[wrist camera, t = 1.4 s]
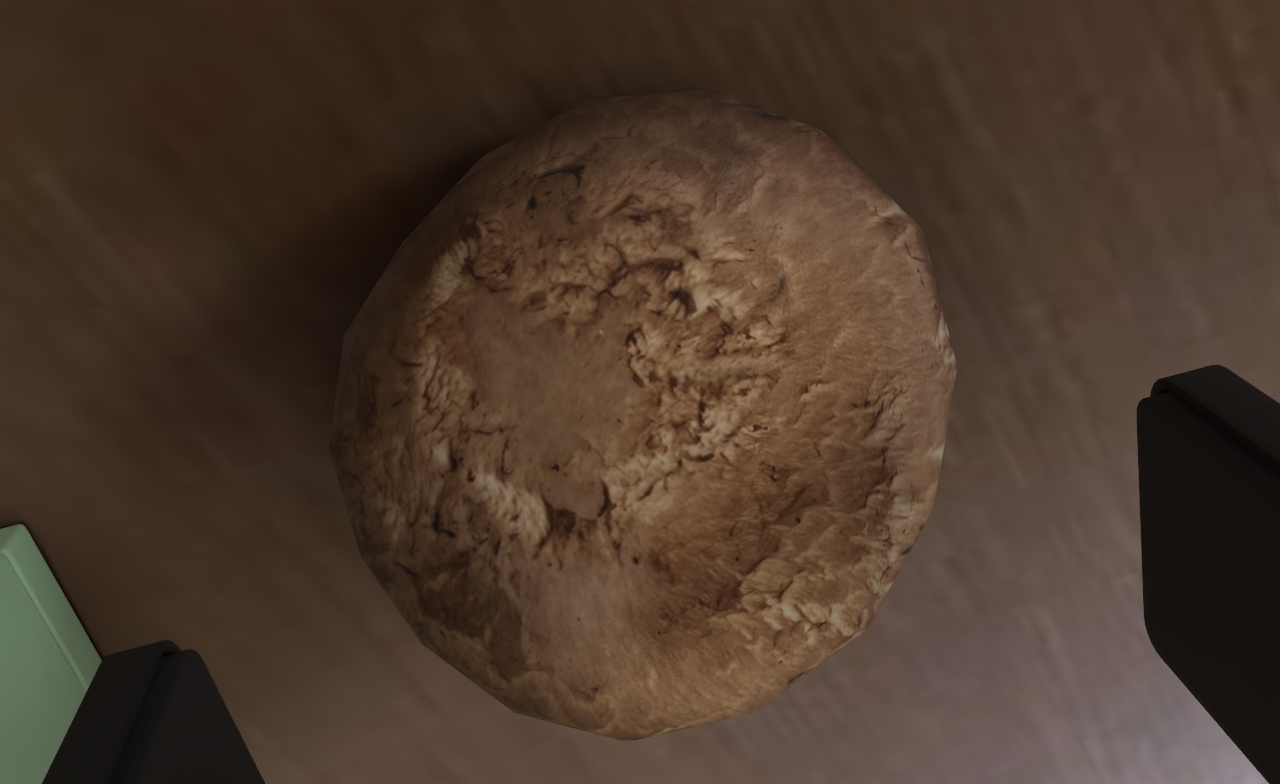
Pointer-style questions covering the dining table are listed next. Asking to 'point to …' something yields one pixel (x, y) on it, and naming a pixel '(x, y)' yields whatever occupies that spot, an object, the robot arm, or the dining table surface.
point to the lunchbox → (36, 661)
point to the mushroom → (647, 412)
